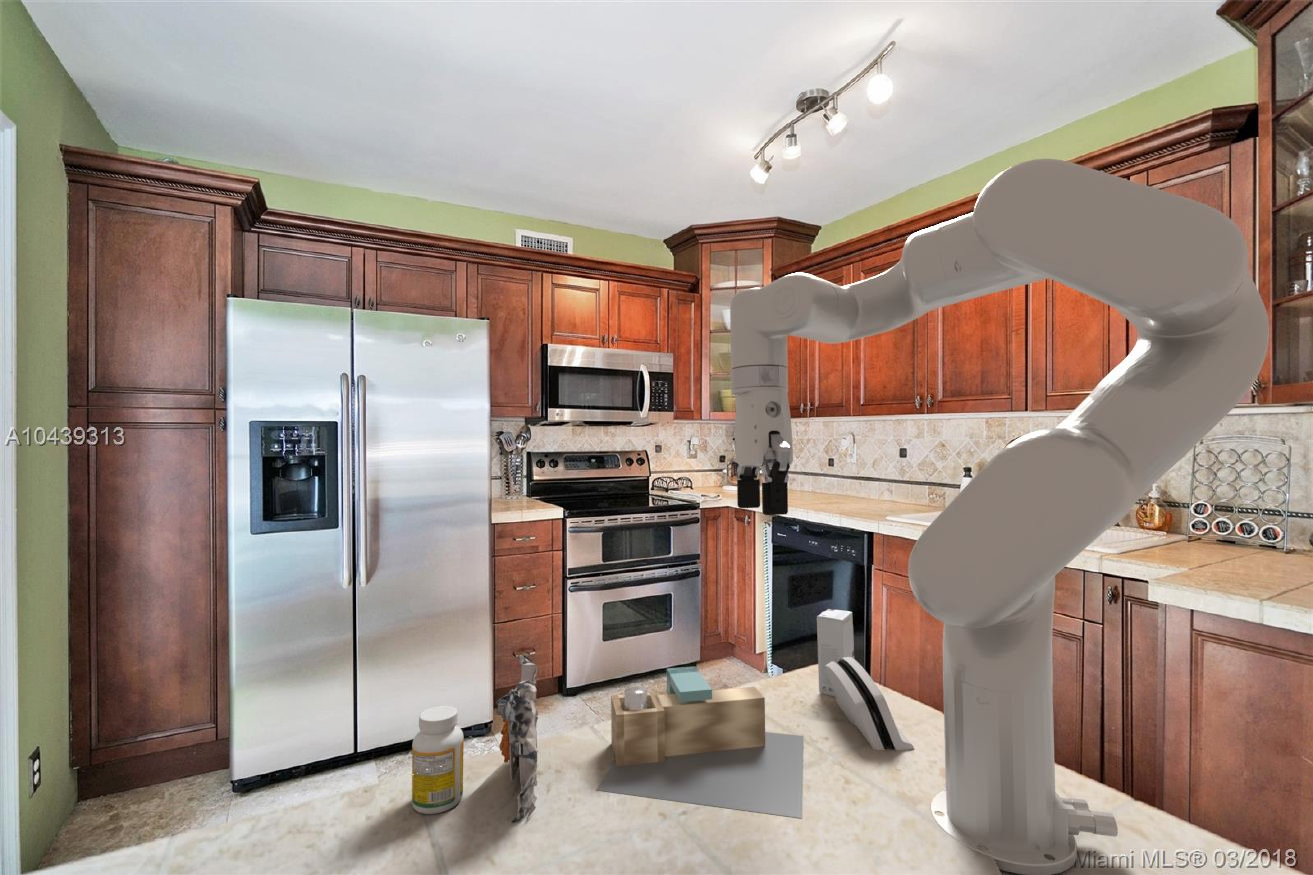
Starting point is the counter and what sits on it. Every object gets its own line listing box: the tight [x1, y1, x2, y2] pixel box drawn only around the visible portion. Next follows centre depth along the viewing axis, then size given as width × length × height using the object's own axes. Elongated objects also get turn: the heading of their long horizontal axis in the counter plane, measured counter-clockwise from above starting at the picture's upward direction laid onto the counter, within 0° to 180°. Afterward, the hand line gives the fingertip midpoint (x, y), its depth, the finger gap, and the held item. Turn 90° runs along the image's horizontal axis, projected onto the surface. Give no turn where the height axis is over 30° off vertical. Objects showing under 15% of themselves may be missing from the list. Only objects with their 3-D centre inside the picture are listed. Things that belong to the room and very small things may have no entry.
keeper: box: [666, 665, 713, 702], centre depth 76 cm, size 4×8×8 cm, turn 11°
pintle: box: [624, 685, 648, 711], centre depth 74 cm, size 3×3×8 cm
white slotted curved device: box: [825, 657, 915, 751], centre depth 82 cm, size 17×5×10 cm, turn 0°
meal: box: [494, 654, 539, 823], centre depth 67 cm, size 15×4×13 cm, turn 11°
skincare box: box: [816, 608, 855, 698], centre depth 96 cm, size 6×4×12 cm
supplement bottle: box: [411, 705, 465, 815], centre depth 66 cm, size 5×5×10 cm
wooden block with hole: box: [610, 686, 766, 766], centre depth 75 cm, size 19×6×6 cm, turn 101°
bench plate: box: [595, 731, 805, 819], centre depth 71 cm, size 22×18×1 cm
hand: (761, 510), depth 79 cm, fingers open, 9 cm apart
